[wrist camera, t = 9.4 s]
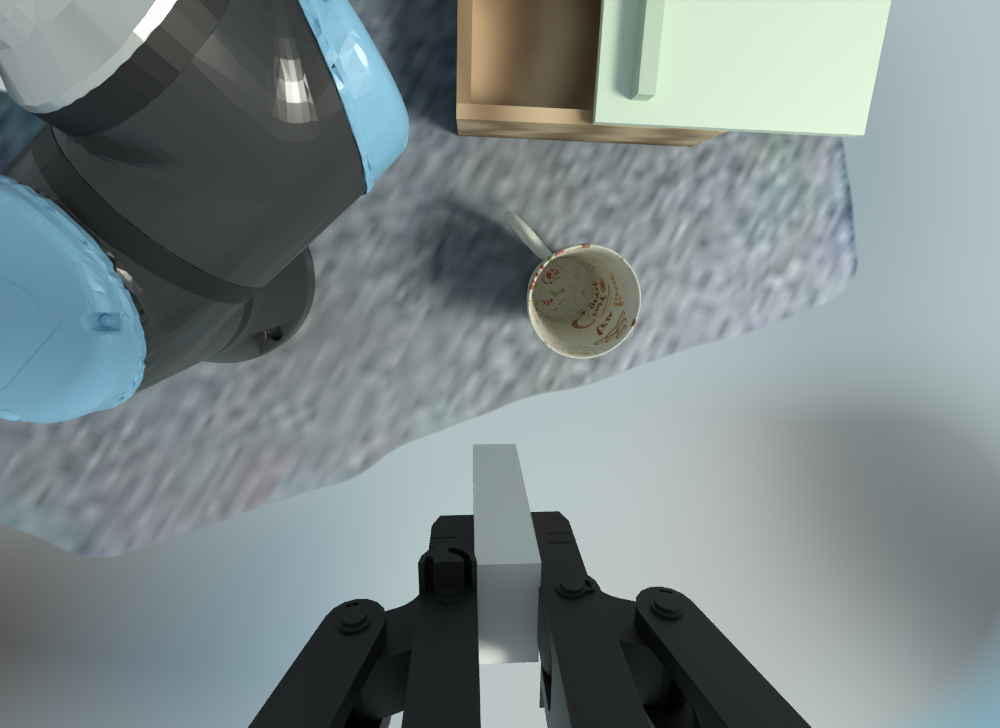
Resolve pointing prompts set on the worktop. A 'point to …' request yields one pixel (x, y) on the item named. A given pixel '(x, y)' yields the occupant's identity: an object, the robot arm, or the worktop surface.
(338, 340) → the worktop surface
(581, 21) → the lid box
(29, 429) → the worktop surface
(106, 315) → the robot arm
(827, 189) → the worktop surface
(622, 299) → the mug
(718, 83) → the lid
